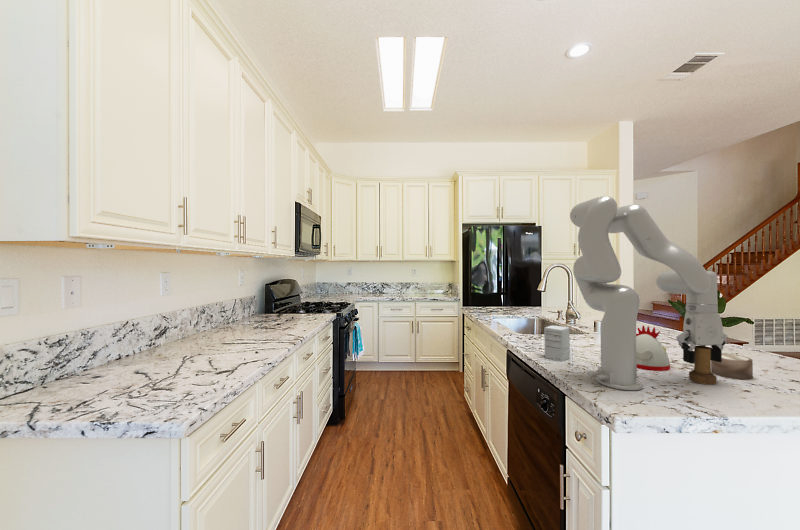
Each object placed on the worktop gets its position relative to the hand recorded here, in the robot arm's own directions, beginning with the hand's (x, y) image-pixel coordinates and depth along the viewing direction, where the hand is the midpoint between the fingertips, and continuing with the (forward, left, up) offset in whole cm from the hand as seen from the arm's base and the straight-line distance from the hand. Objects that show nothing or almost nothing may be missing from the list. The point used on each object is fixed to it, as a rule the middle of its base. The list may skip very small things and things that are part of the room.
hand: (702, 361), depth 106 cm
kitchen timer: (-3, +18, -7) cm, 19 cm away
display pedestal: (+16, +4, -6) cm, 18 cm away
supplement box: (-30, +32, -7) cm, 44 cm away
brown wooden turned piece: (0, 0, -6) cm, 6 cm away
